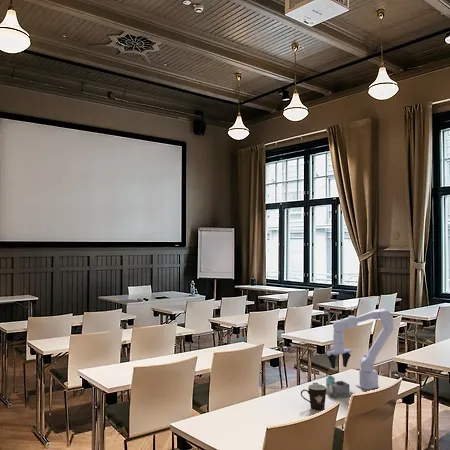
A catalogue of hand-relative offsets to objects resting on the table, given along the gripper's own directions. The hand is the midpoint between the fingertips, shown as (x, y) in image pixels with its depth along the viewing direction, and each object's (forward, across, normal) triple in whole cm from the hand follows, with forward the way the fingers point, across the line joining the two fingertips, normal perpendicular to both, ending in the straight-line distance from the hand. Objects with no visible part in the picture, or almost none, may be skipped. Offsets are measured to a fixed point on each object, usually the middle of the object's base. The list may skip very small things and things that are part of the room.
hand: (339, 367), depth 264 cm
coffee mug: (+10, +31, +23) cm, 40 cm away
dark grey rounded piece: (+10, +12, -5) cm, 16 cm away
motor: (+10, +9, +9) cm, 16 cm away
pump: (+9, +9, +5) cm, 14 cm away
